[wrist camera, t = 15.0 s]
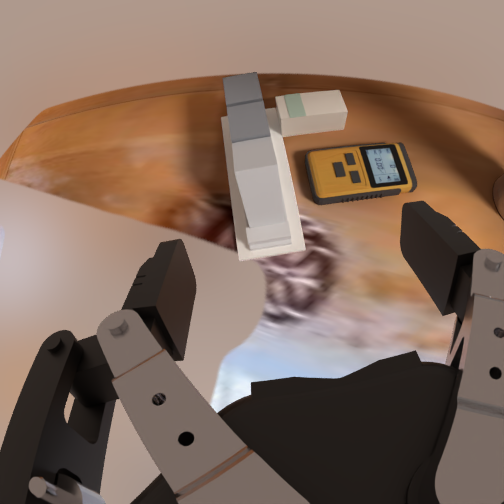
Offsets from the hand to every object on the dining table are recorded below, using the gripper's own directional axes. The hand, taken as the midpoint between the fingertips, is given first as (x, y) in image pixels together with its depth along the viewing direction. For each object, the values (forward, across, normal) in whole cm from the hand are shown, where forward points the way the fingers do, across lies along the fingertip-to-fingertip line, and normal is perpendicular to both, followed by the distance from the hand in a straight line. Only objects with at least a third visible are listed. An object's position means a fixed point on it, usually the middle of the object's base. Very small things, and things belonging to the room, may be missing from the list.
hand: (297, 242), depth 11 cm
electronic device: (+34, -13, +11) cm, 38 cm away
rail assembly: (+34, +2, +9) cm, 36 cm away
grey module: (+28, +2, +12) cm, 31 cm away
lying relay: (+41, -8, +3) cm, 42 cm away
